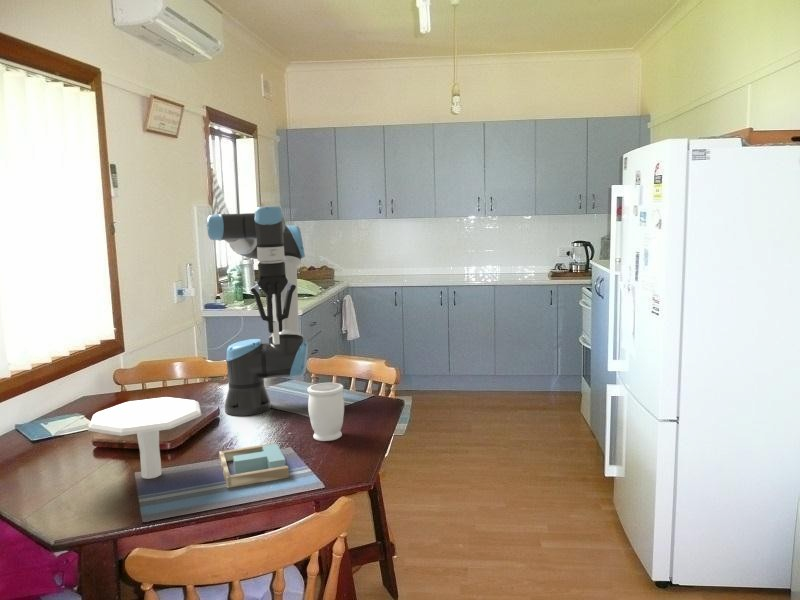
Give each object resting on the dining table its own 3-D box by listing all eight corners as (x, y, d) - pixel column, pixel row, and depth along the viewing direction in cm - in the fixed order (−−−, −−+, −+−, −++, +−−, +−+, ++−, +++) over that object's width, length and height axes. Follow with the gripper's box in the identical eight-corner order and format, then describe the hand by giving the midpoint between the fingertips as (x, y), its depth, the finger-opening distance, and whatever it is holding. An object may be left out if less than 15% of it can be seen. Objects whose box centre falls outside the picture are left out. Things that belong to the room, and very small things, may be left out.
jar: (339, 443, 180) (337, 392, 178) (304, 442, 182) (301, 391, 180) (349, 431, 190) (347, 382, 188) (316, 429, 192) (314, 381, 190)
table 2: (123, 455, 176) (117, 396, 174) (223, 453, 175) (218, 394, 173) (67, 500, 149) (60, 431, 146) (186, 498, 148) (180, 429, 146)
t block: (232, 463, 168) (231, 450, 168) (277, 456, 172) (277, 443, 172) (237, 480, 157) (236, 467, 156) (286, 472, 161) (285, 459, 161)
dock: (219, 460, 170) (219, 451, 170) (276, 451, 175) (275, 442, 175) (226, 488, 153) (226, 478, 152) (289, 477, 158) (288, 467, 158)
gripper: (249, 264, 173) (255, 348, 177) (297, 261, 178) (301, 343, 182) (245, 262, 180) (251, 343, 184) (291, 259, 185) (295, 338, 189)
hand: (276, 343), depth 183 cm, fingers closed
